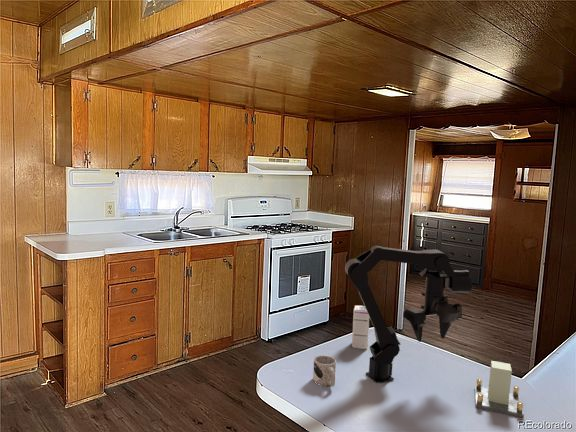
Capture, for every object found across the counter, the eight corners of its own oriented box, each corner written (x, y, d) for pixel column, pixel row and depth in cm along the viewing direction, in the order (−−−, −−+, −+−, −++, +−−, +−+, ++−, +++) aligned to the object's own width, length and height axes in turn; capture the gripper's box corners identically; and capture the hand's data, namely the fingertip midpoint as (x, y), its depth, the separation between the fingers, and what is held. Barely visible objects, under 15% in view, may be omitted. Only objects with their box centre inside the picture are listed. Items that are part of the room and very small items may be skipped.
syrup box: (367, 349, 162) (370, 310, 161) (351, 347, 164) (353, 309, 162) (368, 343, 168) (370, 306, 167) (352, 341, 169) (354, 304, 168)
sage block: (488, 400, 127) (492, 367, 126) (488, 393, 132) (491, 360, 131) (508, 405, 125) (511, 370, 124) (506, 396, 130) (510, 363, 129)
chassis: (523, 417, 121) (524, 405, 120) (475, 407, 125) (476, 395, 125) (518, 397, 132) (519, 386, 132) (474, 388, 136) (475, 377, 136)
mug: (309, 377, 139) (310, 356, 138) (329, 374, 141) (330, 354, 141) (322, 392, 130) (324, 370, 129) (343, 389, 132) (344, 368, 131)
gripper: (428, 300, 127) (424, 353, 128) (477, 296, 134) (473, 346, 136) (403, 290, 137) (400, 339, 139) (450, 286, 144) (446, 333, 146)
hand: (430, 339), depth 140 cm, fingers open, 9 cm apart
